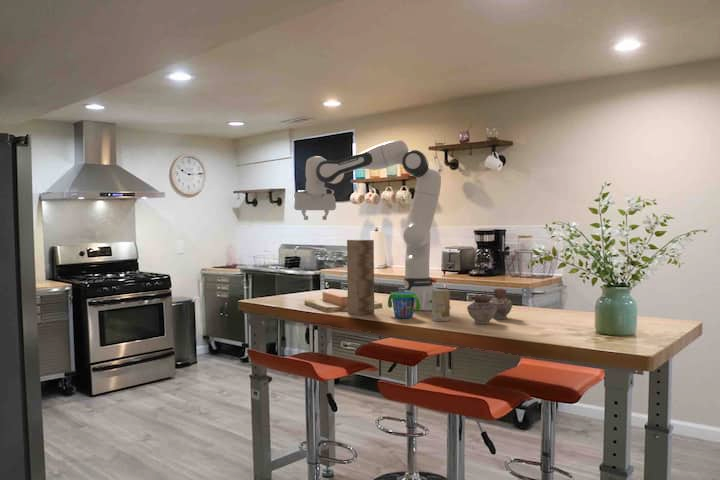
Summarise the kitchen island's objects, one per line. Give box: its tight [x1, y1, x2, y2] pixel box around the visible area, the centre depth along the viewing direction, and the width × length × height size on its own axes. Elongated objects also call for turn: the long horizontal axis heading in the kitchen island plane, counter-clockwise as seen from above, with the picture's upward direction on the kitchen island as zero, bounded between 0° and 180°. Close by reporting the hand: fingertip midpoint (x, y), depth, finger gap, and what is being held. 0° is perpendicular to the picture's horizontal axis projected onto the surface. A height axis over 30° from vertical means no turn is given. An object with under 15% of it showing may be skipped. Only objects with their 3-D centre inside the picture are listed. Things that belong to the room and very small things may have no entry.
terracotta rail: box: [322, 291, 348, 306], centre depth 263 cm, size 4×22×4 cm, turn 26°
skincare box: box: [431, 289, 451, 322], centre depth 223 cm, size 6×4×12 cm
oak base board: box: [304, 298, 383, 313], centre depth 266 cm, size 28×28×2 cm
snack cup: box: [387, 291, 420, 319], centre depth 232 cm, size 16×10×10 cm
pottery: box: [466, 288, 514, 325], centre depth 222 cm, size 11×25×12 cm, turn 138°
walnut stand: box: [346, 239, 375, 316], centre depth 243 cm, size 8×10×32 cm
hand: (315, 220), depth 265 cm, fingers open, 8 cm apart
